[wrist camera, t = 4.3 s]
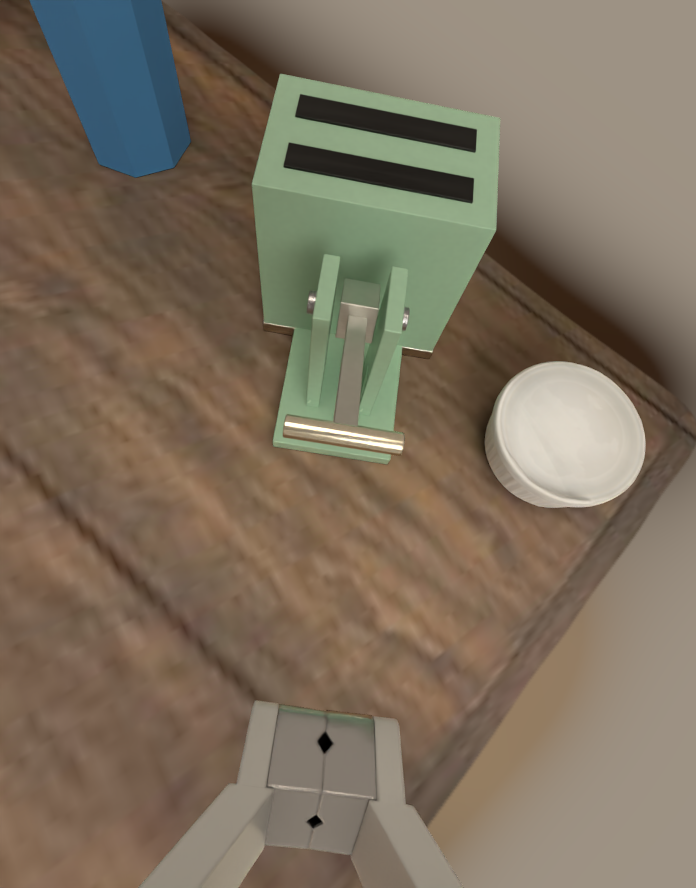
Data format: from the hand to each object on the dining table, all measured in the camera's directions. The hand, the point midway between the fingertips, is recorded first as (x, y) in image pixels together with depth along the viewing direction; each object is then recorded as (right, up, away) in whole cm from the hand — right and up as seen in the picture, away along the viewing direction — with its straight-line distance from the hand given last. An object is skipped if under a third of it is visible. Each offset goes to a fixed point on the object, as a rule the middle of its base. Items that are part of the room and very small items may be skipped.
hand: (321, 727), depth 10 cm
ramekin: (+16, +5, +31) cm, 35 cm away
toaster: (+1, +19, +33) cm, 38 cm away
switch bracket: (0, +10, +30) cm, 32 cm away
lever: (+1, +10, +17) cm, 19 cm away
